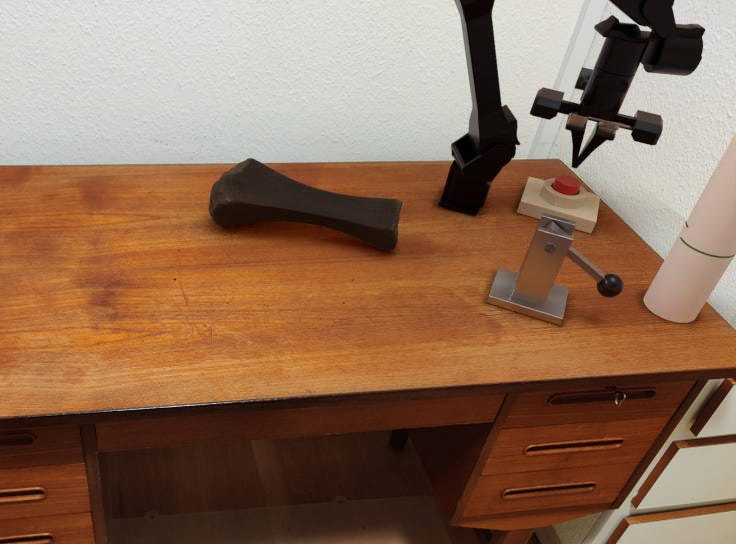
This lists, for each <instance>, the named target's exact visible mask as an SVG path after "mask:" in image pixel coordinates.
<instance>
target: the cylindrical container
mask: <svg viewBox="0 0 736 544" xmlns="http://www.w3.org/2000/svg"><path fill="white" fill-rule="evenodd" d="M735 257H736V132H734V135H733V136H732V138H731V140H730V142H729V143H728V145H727V147H726V149H725V151H724V153H723V155H722V156H721V157H720V160H719V162H718V163H717V164H716V167H715V169H714V171H713V173H712V174H711V176H710V177H709V180H708V182H707V183H706V185H705V186H704V188H703V190H702V192H701V194H700V195H699V197H698V199H697V200H696V203H695V205H694V206H693V208H692V210H691V212H690V213H689V215H688V217H687V218H686V221H685V223H684V224H683V226H682V228H681V230H680V231H679V233H678V235H677V237H676V238H675V240H674V242H673V244H672V246H671V248H670V250H669V251H668V253H667V255H666V257H665V258H664V259H663V262H662V264H661V266H660V268H659V269H658V271H657V273H656V274H655V276H654V278H653V280H652V281H651V283H650V285H649V287H648V289H647V291H646V292H645V294H644V297H643V303H644V305H645V307H646V308H647V309H648V311H650V312H651V313H653V314H654V315H656V316H658V317H659V318H661V319H663V320H666V321H669V322H672V323H673V322H674V323H680V324H688V323H692V322H694V321H695V320H696V318H697V317H698V315H699V314H700V312H701V310H702V309H703V307H704V306H705V304H706V303H707V301H708V300H709V298H710V296H711V295H712V293H713V291H714V290H715V288H716V287H717V285H718V283H719V282H720V281H721V278H722V277H723V276H724V274H725V273H726V272H727V269H728V267H729V266H730V265H731V263H732V261H733V260H734V258H735Z"/></svg>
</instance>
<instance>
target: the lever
mask: <svg viewBox="0 0 736 544" xmlns="http://www.w3.org/2000/svg"><path fill="white" fill-rule="evenodd" d="M545 228H547V229H550V230H554V231H557V232H561V233H564V234H567V233H566V232H565V231H564V230H562V229H561V228H560V227H559V226H558V225H556V224H555V223H554V222H553V221H552V222H551V223H550V224H549V225H547V226H546V227H545ZM566 257H567V258H568V259H569V260H570V261H571V262H573V263H574V264H575V265H577V267H579V268H580V269H581V270H582V271H584V273H586V274H587V275H588V276H589V277H591V278H592V279H593V280H594V281H596V290H597V292H598V294H599V295H601V297H604V298H609V299H611V298H615V297H617V296H619V295H620V294H621V293H622V292H623V290H624V286H625V284H624V280H623V278H622V277H621V276H620V275H618V274H616V273H612V272H609V273H604V272H603V271H602V270H601V269H599V268H598V267H597V266H596V265H595V264H594V263H592V262H591V261H589V259H587V258H586V257H585V256H584V255H582V254H581V253H580V252H579V251H578V250H577V249H575V248H574V247H573V246H572V245H571V246H570V248H569V250H568V252H567V255H566Z"/></svg>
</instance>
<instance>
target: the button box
mask: <svg viewBox="0 0 736 544" xmlns="http://www.w3.org/2000/svg"><path fill="white" fill-rule="evenodd" d="M555 179H556V177H552V178H549V179H541V178H537V177H533V176H528V179H527V181H526V183H525V187H524V190H523V193H522V195H521V198H520V201H519V204H518V207H517V210H516V214H520V215H524V216H527V217H530V218H534V219H538V220H540V218H541V216H542V213H546V214H550V215H553V216H557V217H561V218H564V219H568V220H571V221H575V222H577V223H576V227H575V229H574V230H577V231H580V232H584V233H588V234H592V233H593V230H594V229H595V226H596V224H597V221H598V213H599V207H600V203H601V195H600V194H597V193H593V192H589V191H587V190H586V188H584V186H582V185H581V186H580V188H579V191H578V193H577V195H575V196H572V195H565V194H561V193H559V192H557V191H555V190H554V189H553V188H552V187H553V184H554V182H555Z"/></svg>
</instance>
